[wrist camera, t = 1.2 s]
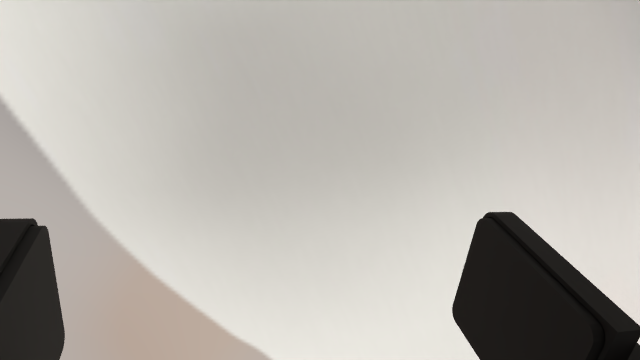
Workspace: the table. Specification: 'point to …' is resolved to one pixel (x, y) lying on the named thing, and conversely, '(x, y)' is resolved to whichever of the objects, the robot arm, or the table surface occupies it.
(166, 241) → the table surface
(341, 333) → the table surface
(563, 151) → the table surface
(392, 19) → the table surface
